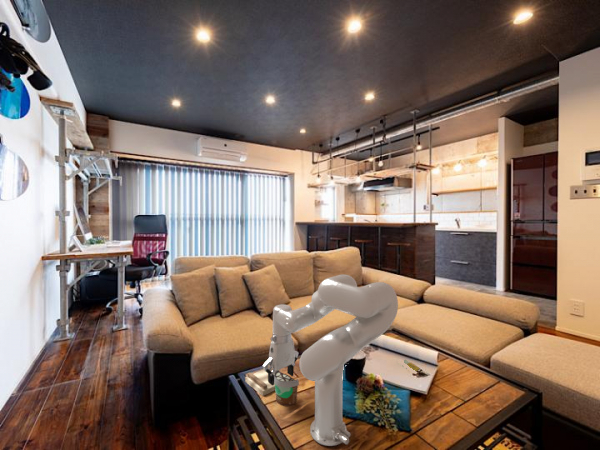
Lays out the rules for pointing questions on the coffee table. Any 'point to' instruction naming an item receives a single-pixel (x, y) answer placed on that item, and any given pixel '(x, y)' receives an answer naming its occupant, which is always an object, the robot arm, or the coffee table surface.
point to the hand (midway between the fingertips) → (281, 379)
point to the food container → (285, 389)
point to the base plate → (260, 382)
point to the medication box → (411, 365)
